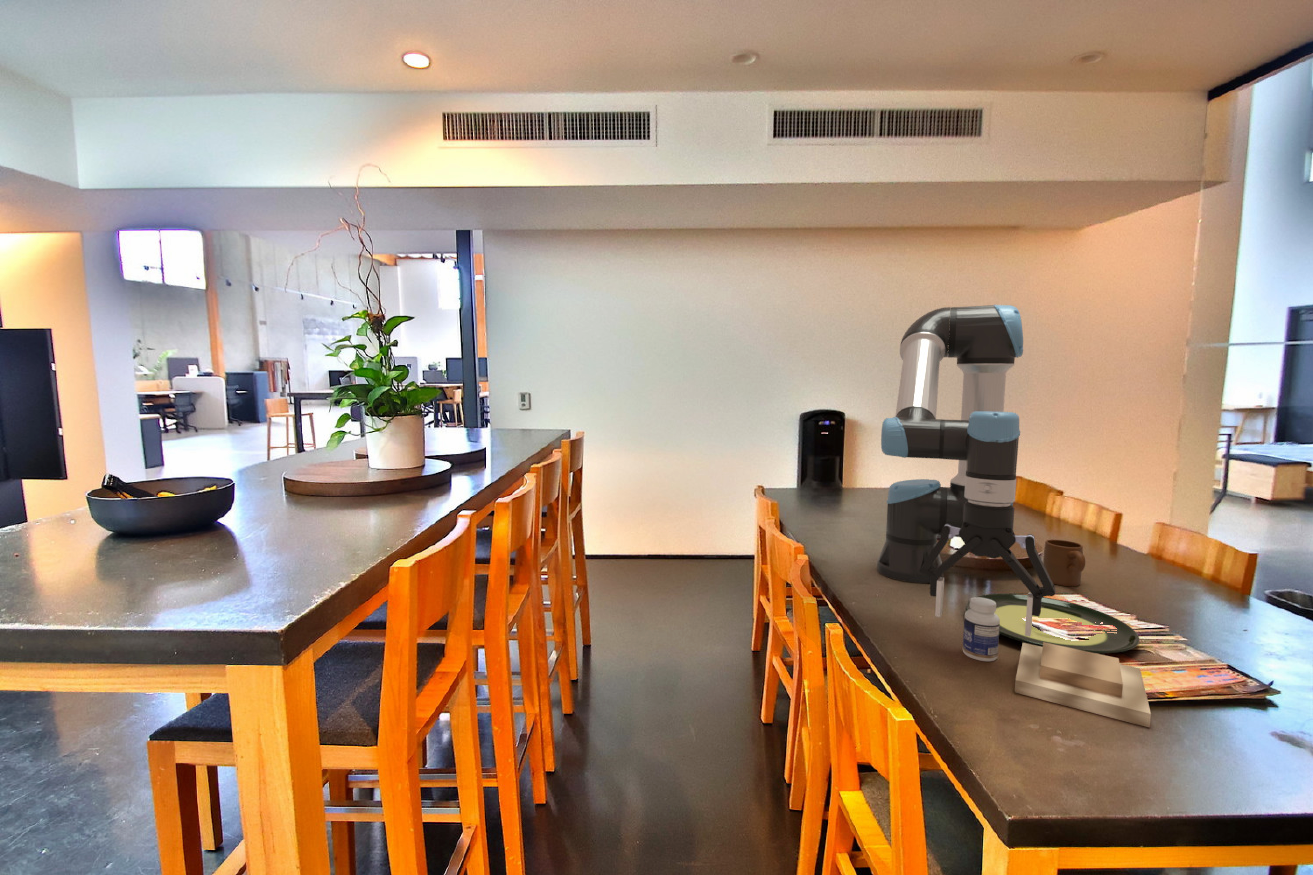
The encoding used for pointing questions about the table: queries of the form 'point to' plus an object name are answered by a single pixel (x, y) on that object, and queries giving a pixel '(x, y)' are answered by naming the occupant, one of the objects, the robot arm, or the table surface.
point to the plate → (1015, 609)
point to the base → (1083, 696)
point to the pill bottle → (981, 630)
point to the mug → (1064, 562)
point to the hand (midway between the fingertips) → (981, 623)
